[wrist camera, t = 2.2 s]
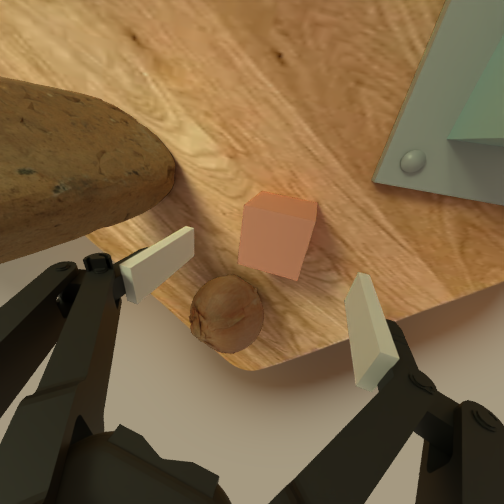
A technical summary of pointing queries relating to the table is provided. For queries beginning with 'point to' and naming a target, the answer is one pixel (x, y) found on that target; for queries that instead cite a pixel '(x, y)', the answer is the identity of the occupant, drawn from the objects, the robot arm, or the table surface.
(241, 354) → the table surface
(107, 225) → the rough sandstone chunk
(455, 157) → the build plate
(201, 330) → the onion
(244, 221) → the brick block
